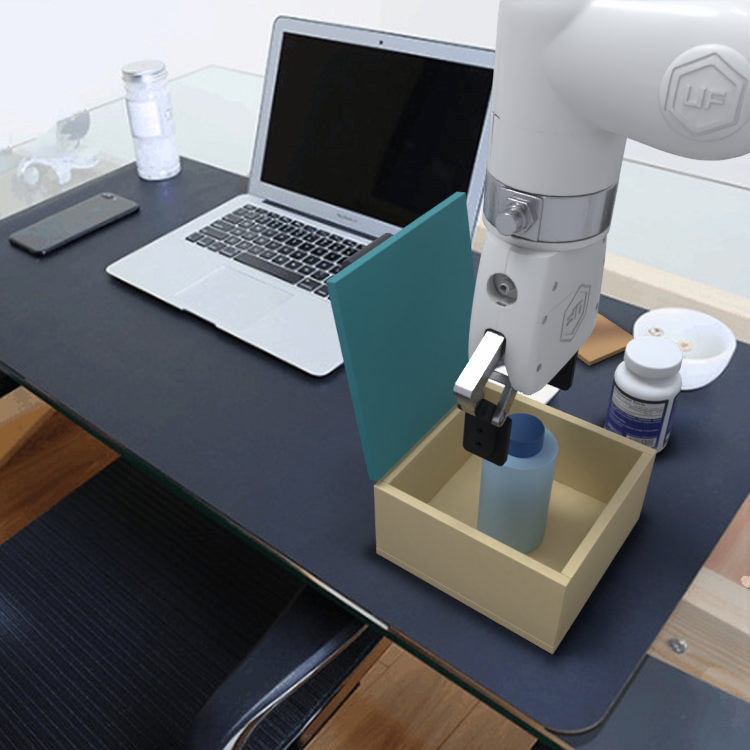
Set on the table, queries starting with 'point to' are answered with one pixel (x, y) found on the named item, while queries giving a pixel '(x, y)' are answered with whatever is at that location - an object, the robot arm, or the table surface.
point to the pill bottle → (646, 391)
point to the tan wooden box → (494, 559)
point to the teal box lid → (405, 329)
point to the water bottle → (519, 486)
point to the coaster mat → (603, 341)
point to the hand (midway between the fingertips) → (519, 417)
